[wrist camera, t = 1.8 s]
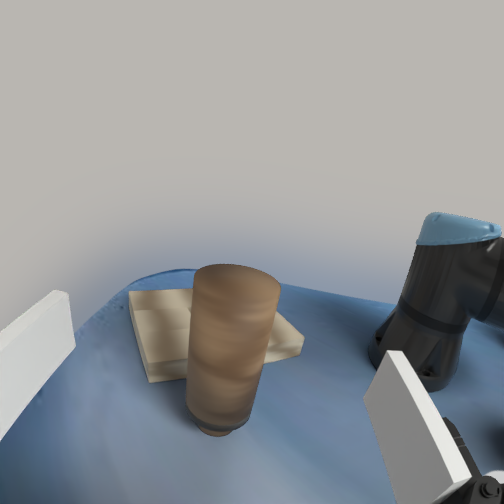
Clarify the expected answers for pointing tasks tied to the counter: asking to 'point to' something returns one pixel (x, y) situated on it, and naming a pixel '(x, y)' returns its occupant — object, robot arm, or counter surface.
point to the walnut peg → (227, 344)
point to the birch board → (187, 333)
